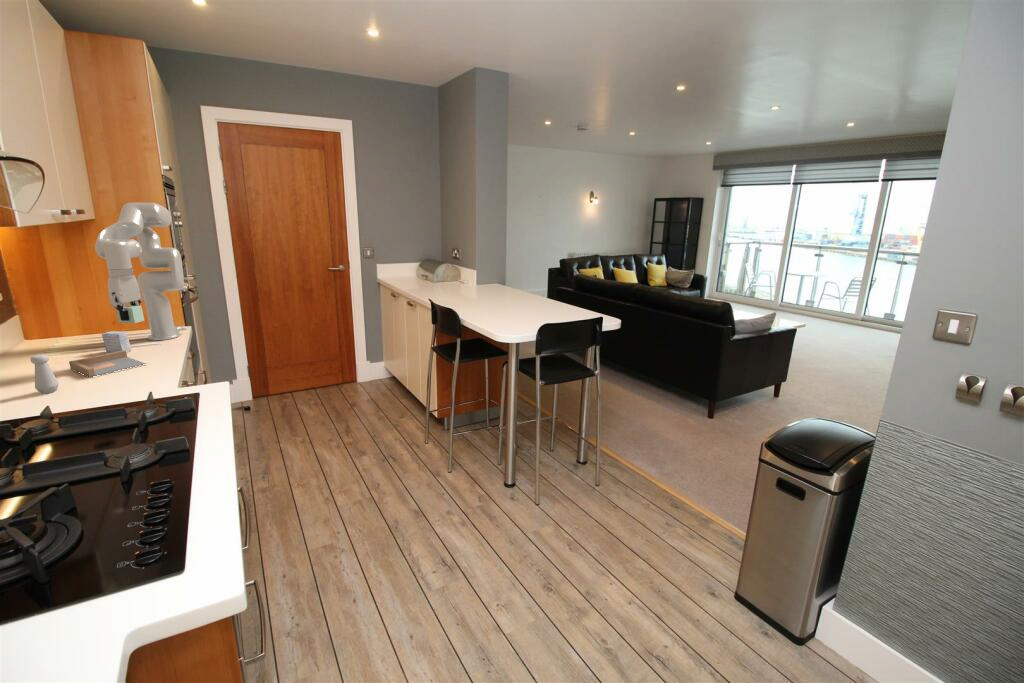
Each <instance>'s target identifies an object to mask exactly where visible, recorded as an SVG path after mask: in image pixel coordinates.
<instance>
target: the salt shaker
mask: <svg viewBox="0 0 1024 683" xmlns="http://www.w3.org/2000/svg"><path fill="white" fill-rule="evenodd" d="M48 361H49V356H48V355H47V354H43V353H42V354H36V355H32V356H31V357H30V362H31V363H32V365H33V364H34V388H35V390H36V391H38V393H39V394H40V395H48V394H52V393H55V392H56V391H58V388H59V381H58V379H57V377H56V376H55V373H54V372H53V371H52V369H51V366H50V365H49V363H48Z"/></svg>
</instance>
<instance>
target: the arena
mask: <svg viewBox="0 0 1024 683" xmlns="http://www.w3.org/2000/svg"><path fill="white" fill-rule="evenodd" d="M68 364H69V367H70V368H69V369H70V370H71V369H73V370H75V371H77V372H76V373H78V372H80V373H82V374H84V375H86V376H88V377H87V378H89V377H92V378H94V377H93V376H97V375H101V376H103V375H102V374H105V375H107V374H106V373H110V372H114V371H118V370H122V369H127V368H130V367H135V366H139V365H143V364H146V365H147V363H145V362H142V361H140V360H137V359H135V358H131V357H129V356H128V352H126V351H125V350H123V351H118V352H113V353H105V354H104V353H103V354H98V355H94V356H90V357H84V358H79V359H74V360H70V361H68ZM135 368H136V367H135ZM73 370H72V371H73ZM127 370H128V369H127ZM75 371H74V372H75ZM118 372H119V371H118ZM80 373H79V374H80ZM114 373H115V372H114ZM82 374H81V375H82ZM110 374H111V373H110ZM84 375H83V376H84ZM86 376H85V377H86ZM97 377H98V376H97Z"/></svg>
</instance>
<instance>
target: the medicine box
mask: <svg viewBox="0 0 1024 683" xmlns="http://www.w3.org/2000/svg"><path fill="white" fill-rule="evenodd" d="M101 336H102V341H103V344H104V349H105V352H106V353H105V354H108V353H113V352H118V351H123V350H125V351H129V350H131V351H132V348H131V347H132V346H131V342H130V340H129V335H128V332H127V331H113V330H112V331H111V330H110V331H108V332H107V331H106V332H103V333H102V334H101ZM129 352H130V351H129Z"/></svg>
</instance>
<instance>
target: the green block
mask: <svg viewBox="0 0 1024 683" xmlns="http://www.w3.org/2000/svg"><path fill="white" fill-rule="evenodd" d="M126 310H127V311H128V315H129V320H128V321H122V320H121V318H120V313H119V311H117V309H116V308H115V311H116V316H117V317H116V318H117V321H118V323H120V324H121V323H122V324H137V323H140V322H144V321H145V317H144V311H143V308H142V305H140V306H131V305H126Z"/></svg>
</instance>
